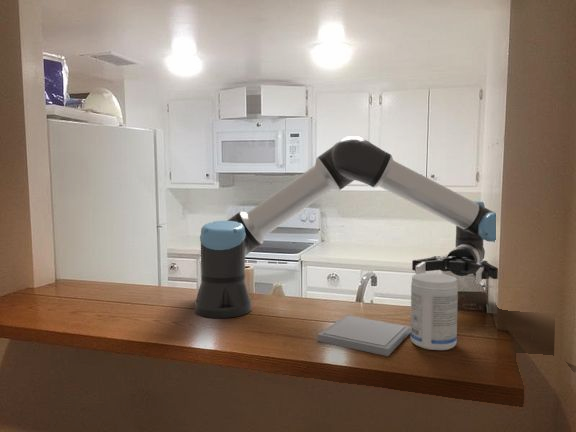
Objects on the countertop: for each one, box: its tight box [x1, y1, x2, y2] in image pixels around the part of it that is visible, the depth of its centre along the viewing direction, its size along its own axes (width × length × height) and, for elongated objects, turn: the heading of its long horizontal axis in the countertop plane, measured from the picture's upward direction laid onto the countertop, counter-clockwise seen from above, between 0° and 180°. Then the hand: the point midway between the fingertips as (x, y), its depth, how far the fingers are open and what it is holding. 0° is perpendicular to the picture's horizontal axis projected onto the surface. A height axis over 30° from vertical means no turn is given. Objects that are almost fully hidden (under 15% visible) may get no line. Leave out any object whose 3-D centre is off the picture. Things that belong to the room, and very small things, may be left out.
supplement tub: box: [410, 272, 459, 351], centre depth 98 cm, size 10×10×15 cm
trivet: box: [316, 314, 411, 357], centre depth 102 cm, size 16×16×2 cm
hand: (446, 275), depth 105 cm, fingers open, 13 cm apart
